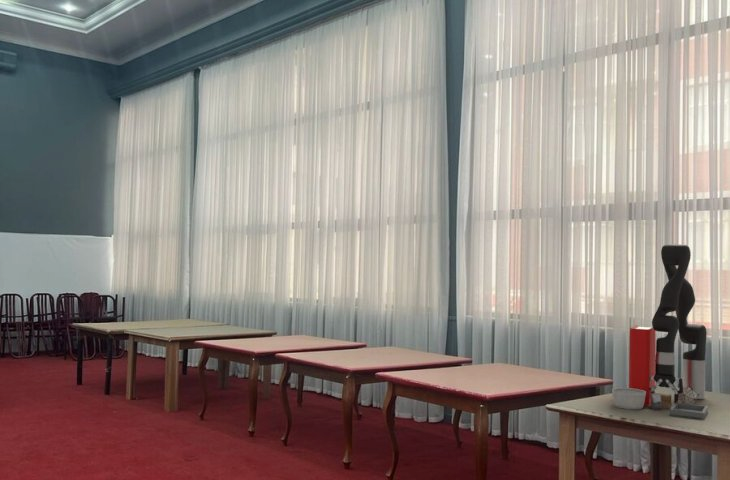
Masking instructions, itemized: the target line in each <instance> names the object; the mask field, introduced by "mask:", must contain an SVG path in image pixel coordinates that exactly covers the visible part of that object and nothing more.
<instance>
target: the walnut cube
mask: <svg viewBox="0 0 730 480" xmlns="http://www.w3.org/2000/svg"><path fill="white" fill-rule="evenodd" d="M658 393H659V394H661V408H666V409H667V408H668V409H671V408H672V394H670V393H664V392H663V393H660V392H658Z"/></svg>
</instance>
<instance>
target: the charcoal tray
mask: <svg viewBox="0 0 730 480" xmlns="http://www.w3.org/2000/svg"><path fill="white" fill-rule="evenodd" d="M708 413H709V406H708V405H700V404H695V405H693V404H684V403H682V402H681V403H680V402H677V403H674V405H672V406H671V407H670V408H669V416H670V417H677V418H685V419H686V418H687V419H695V420H701V421H702V420H705V419H706V417H707V415H708Z"/></svg>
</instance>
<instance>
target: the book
mask: <svg viewBox="0 0 730 480" xmlns="http://www.w3.org/2000/svg"><path fill="white" fill-rule="evenodd" d="M628 350H629V352H628V353H629V358H628V360H629V362H628V365H629V366H628V368H629V369H628V388H633V389H640V390H644V391H646V395H645V402H644V407H649V406H651V391H650V387H651V388H652V387H653V386H654V385H655V384H656V381H655V380H654V379H652V381H650V376H655V356H656V331H655V330H654V329H653V327H651V326H650V327H649V326H647V327H646V326H639V325H637V324H636V325H634V326H631V327H630V328H629V349H628ZM655 391H656V389H655V390H654V392H655ZM655 393H656V392H655Z"/></svg>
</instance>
